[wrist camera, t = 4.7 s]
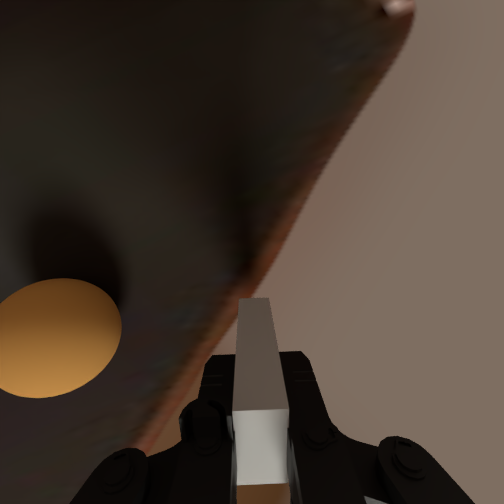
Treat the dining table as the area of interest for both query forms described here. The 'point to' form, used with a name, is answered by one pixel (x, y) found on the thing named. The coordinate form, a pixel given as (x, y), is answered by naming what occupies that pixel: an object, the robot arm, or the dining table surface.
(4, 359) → the ball
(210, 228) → the dining table surface
